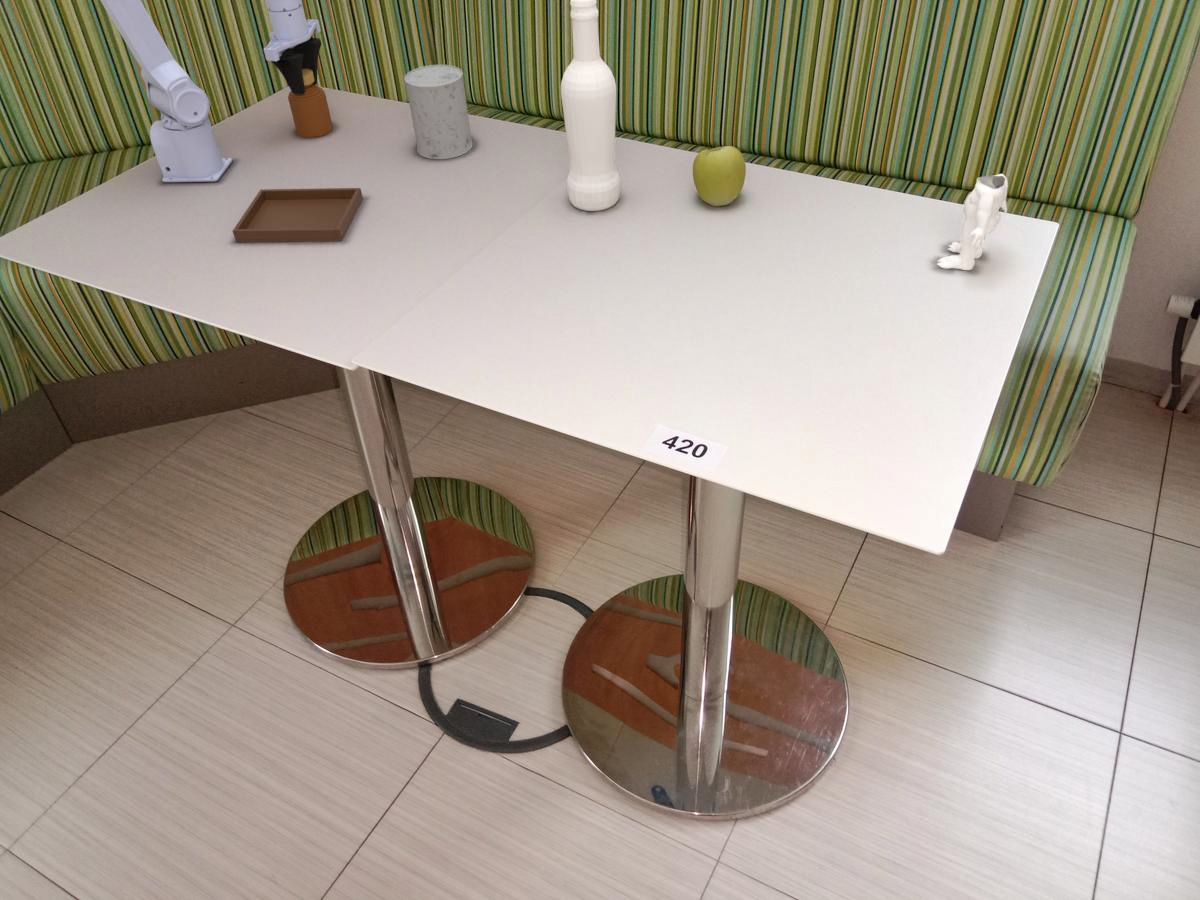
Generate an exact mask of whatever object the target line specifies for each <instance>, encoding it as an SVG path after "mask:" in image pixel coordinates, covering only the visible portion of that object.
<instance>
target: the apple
mask: <svg viewBox="0 0 1200 900" xmlns="http://www.w3.org/2000/svg"><path fill="white" fill-rule="evenodd" d="M714 145H717V142H716V141H714ZM692 163H693V164H692V179H693V183H694V187H695V190H696V192H697V195H698V196H699V199H701V200H702V201H703V202H705V203H706V204H709V206H710V205H711V206H713V207H720V206H721V207H722V206H727V205H729V204H731V203H732V202H733V201H735V200H736V199H737V198H738V197H739V196H740V194H741V192H742V189H743V188H744V184H745V180H746V179H745V178H746V173H747V169H746V168H747V167H746V161H745V158H744V156H743V153H742V152H741V151H740V150H739V149H738V148H737V147H735V146H732V145H724V146H718V147H717V146H716V147H714V148H710V149H703V150H701V151H699V152H698V153H697V155H696V156H695V157H694V160H693V162H692Z"/></svg>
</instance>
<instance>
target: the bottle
mask: <svg viewBox="0 0 1200 900" xmlns="http://www.w3.org/2000/svg"><path fill="white" fill-rule="evenodd" d="M597 3H598V1H597V0H570V1H569V4H570V6H571V9H570V15H569V16H570V19H571V31H572V32H571V33H572V53H573V54H572V57H573V58H572V60H571V62H570V64H569V65H567V67H566V69H565V70H564V72H563V74H562V75H563V76H562V79H561V83H560V98H561V104H562V112H563V120H564V121H563V122H564V127H565V136H566V143H567V150H568V158H569V159H568V160H569V172H568V174H567V179H566V188H567V189H566V190H567V195H568V199H569V202H570V203H571V205H572V206H573V207H575V208H576V209H578V210H582V211H587V212H598V211H603V210H607V209H609V208H612V207H613V206H614V205H615V204H616V203H617V202H618V200H619V198H620V194H621V193H620V192H621V178H620V174H619V172H618V170H617V167H616V166H617V165H616V155H615V154H616V120H617V119H616V115H617V84H616V79H615V77H614V74H613V72H612V70H611V68H610V67H609V66H608V65H607V63H606V62H605V61H604V60H603V59H602V57H601V51H600V37H599V22H598V18H599V10H598V8H597V7H598V6H597Z"/></svg>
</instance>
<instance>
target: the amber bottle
mask: <svg viewBox="0 0 1200 900" xmlns="http://www.w3.org/2000/svg"><path fill="white" fill-rule="evenodd" d="M304 87H305V93H304V94H293V93H292V91H291V90H290V92H289V93H288V96H287V100H288V103H289V107H290V111H291V115H292V119H293V123H294V126H295V130H296V134H297V136H299V137H301V138H308V139H313V138H320V137H323V136H326V135H328V134H330V133H332V131H333V130H334V125H333V121H332V117H331V112H330V109H329V104H328V100H327V96H326V92H325V90H324V89H323V88H322V87H321V86H318V85H317V84H316V85H315V84H313V83H312V84H309V85H306V86H304Z"/></svg>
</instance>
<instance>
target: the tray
mask: <svg viewBox="0 0 1200 900" xmlns="http://www.w3.org/2000/svg"><path fill="white" fill-rule="evenodd" d="M363 200H364V197H363V193H362V189H361V187H336V188H334V187H333V188H331V187H328V188H327V187H326V188H271V189H270V188H268V189H267V188H266V189H265V188H264V189H263V188H261V189H260V190H259V191H258V192H257V194H256V196H255V197H254V198H253V200H252V201H251V203H250V204H249V206H248V207H247V208H246V210H245V212H244V213H243V215H242V216H241V218H240V219H239V220H238V222H237V223H236V225H235V227H234V228H233V230H232V234H233V237H234V240H235V243H293V242H295V243H296V242H299V243H300V242H343V239H344V237H345V236H346V234H347V232H348V230H349V228H350V226H351V223H352V221H353V220H354V218H355V216H356V213H357V212H358V210H359V207H360V206H361V203H362V202H363Z"/></svg>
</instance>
